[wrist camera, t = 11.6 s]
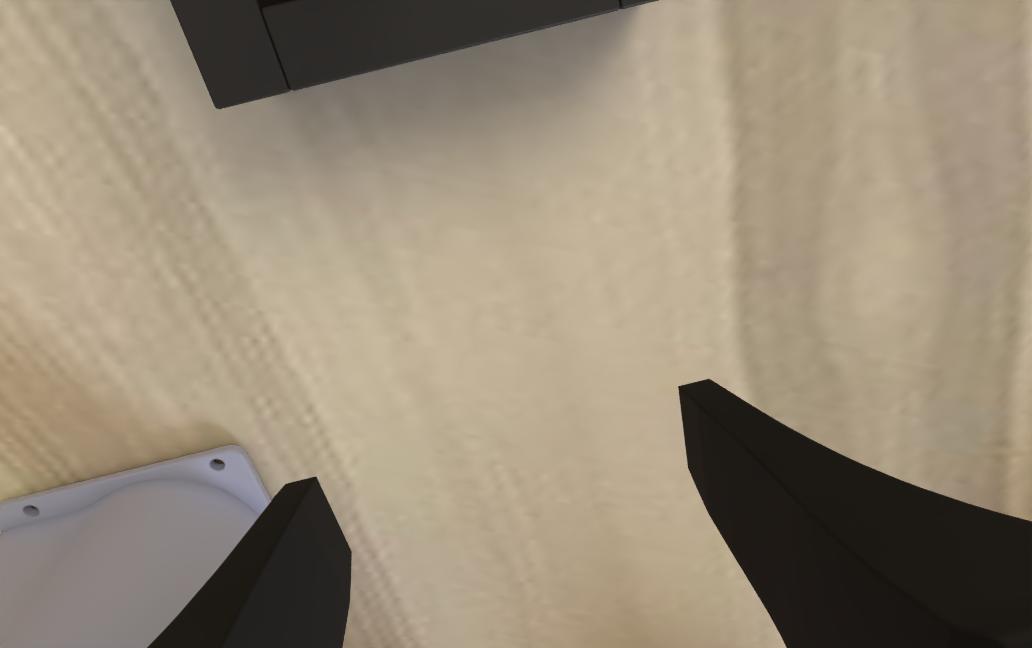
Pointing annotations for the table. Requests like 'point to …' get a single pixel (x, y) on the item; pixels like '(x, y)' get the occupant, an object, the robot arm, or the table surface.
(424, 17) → the holder
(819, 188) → the table surface
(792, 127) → the table surface
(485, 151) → the table surface
